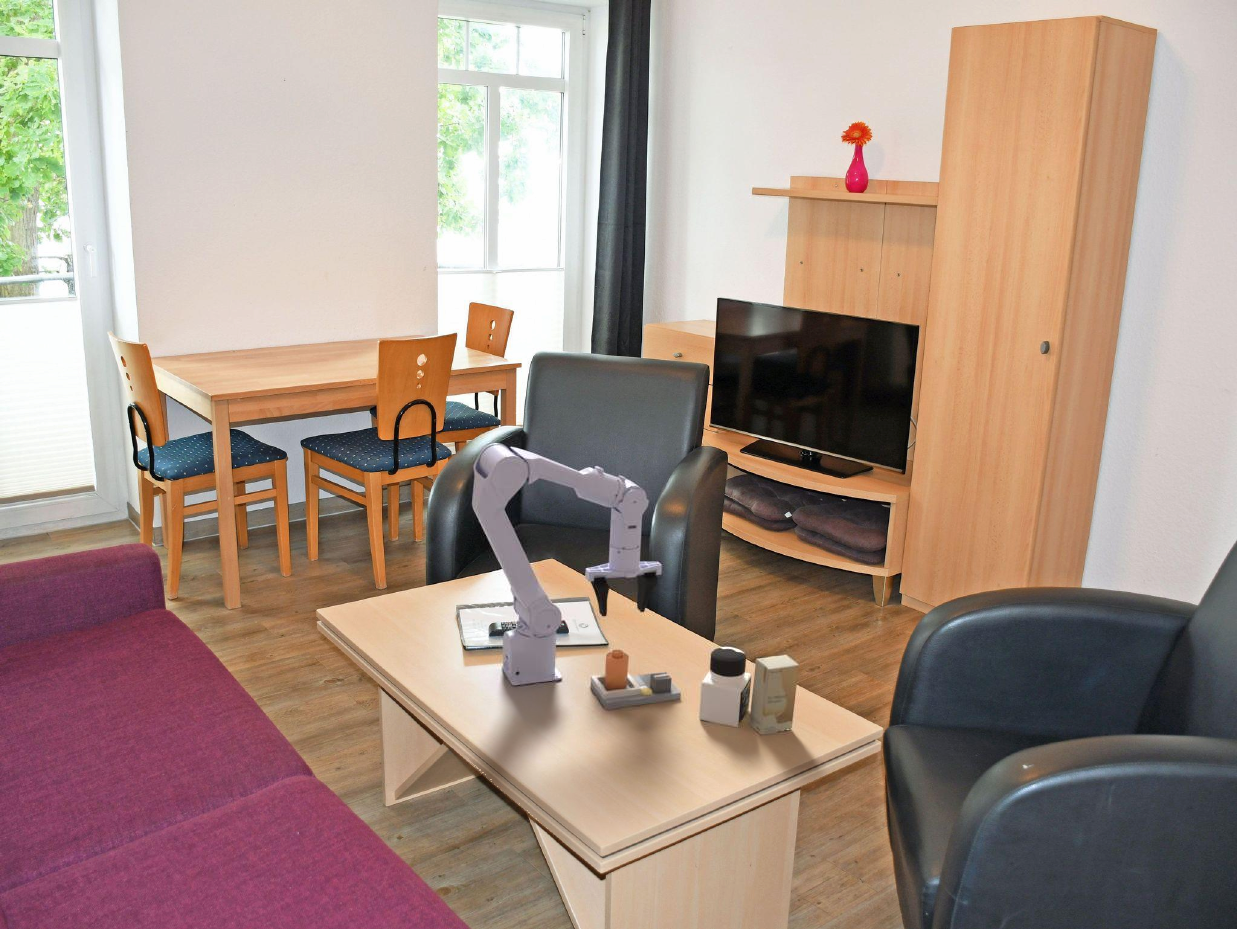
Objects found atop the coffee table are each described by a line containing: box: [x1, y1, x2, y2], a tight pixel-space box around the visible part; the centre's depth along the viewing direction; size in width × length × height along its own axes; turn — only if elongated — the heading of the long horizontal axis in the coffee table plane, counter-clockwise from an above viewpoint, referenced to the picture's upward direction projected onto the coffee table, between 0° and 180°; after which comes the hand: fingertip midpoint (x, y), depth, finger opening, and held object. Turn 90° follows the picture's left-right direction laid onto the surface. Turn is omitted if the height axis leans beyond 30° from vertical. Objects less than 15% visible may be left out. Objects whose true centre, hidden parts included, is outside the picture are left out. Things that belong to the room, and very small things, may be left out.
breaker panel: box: [590, 671, 681, 710], centre depth 195 cm, size 14×8×2 cm, turn 111°
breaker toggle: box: [650, 671, 672, 693], centre depth 194 cm, size 3×2×3 cm
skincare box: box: [749, 654, 800, 735], centre depth 184 cm, size 6×4×12 cm
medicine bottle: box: [698, 646, 752, 728], centre depth 187 cm, size 7×7×12 cm
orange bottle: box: [604, 649, 630, 691], centre depth 194 cm, size 4×4×7 cm
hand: (621, 612), depth 205 cm, fingers open, 7 cm apart
